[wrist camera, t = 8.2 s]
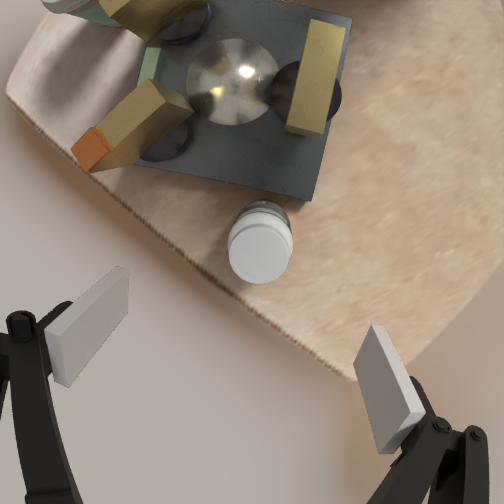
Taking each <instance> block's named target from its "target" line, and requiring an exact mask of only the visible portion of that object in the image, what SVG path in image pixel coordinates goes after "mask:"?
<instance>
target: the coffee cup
mask: <svg viewBox="0 0 504 504" xmlns="http://www.w3.org/2000/svg"><path fill="white" fill-rule="evenodd" d="M41 1H42V2H43V5H44V6H45V7H46V8H47V9H48V10H49V11H51V12H53V13H57V14H61V13H67V14H70V15H74V16H77V17H80V18H84V19H87V20H90V21H93V22H96V23H99V24H102V25H105V26H108V27H120V26H122V25H121V24H119V23H118V22H116V21H115V20H113V19H112V18H110V17H109V16H108V14H107V13H106V11H105V10H104V9H103V7H102V6H101V4H100V3H99V2H98V1H99V0H41Z"/></svg>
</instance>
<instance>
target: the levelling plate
mask: <svg viewBox="0 0 504 504" xmlns="http://www.w3.org/2000/svg"><path fill="white" fill-rule="evenodd" d="M208 4H209V6H210V9H211V19H210V22H209V24H208V26H207V28H206V29H205V31H204V32H203V33H202V34H201V35H199V36H198V37H197V38H195V39H193V40H191V41H189V42H186V43H183V44H167V43H164V42H162V41H160V40H159V39H158V38H157V37H154V38H153V39H151V40H150V41H149V42H147V45H146V49H145V52H144V56H143V60H142V64H141V68H140V72H139V76H138V80H137V84H136V87H137V86H139V85H140V84H141V83H142V82H143V81H144V80H146V79H147V78H150V79H152V80H154V81H156V82H158V83H160V84H163V85H165V86H167V87H169V88H171V89H173V90H175V91H177V92H179V93H181V94H182V96H183V97H184V98H185V100H186V101H187V102H188V104H189V105H190V106H191V107H192V109H193V110H194V111H195V113H194V114H192V115H191V119H192V124H193V132H192V137H191V140H190V142H189V144H188V146H187V148H186V149H185V150H184V151H183V152H182V153H181V154H180V155H178V156H177V157H175V158H173V159H171V160H167V161H161V162H147V161H144V160H142V159H140V158H139V159H138V160H137V161H136V162H135V163H134V164H133V165H139V166H145V167H151V168H156V169H162V170H168V171H173V172H178V173H184V174H189V175H194V176H199V177H204V178H209V179H214V180H219V181H224V182H229V183H233V184H238V185H242V186H247V187H252V188H256V189H260V190H265V191H269V192H273V193H278V194H282V195H286V196H290V197H294V198H298V199H302V200H306V201H310V202H311V201H312V197H313V193H314V189H315V185H316V181H317V177H318V173H319V169H320V165H321V161H322V157H323V153H324V149H325V145H326V140H327V136H328V132H329V128H330V123H331V119H332V118H331V119H330V120H329V121H327V122H326V123H325V128H324V132H323V134H321V135H317V136H313V137H307V136H303V135H299V134H295V133H291V132H286V131H284V128H285V124H286V122H285V121H284V120H283V119H282V118H281V117H280V116H279V115H278V114H277V113H276V111H275V109H274V107H273V105H272V100H271V84H272V81H273V79H274V77H275V75H276V74H277V72H278V71H279V70H280V69H281V68H282V67H284V66H285V65H287V64H289V63H292V62H295V61H300V58H301V54H302V50H303V46H304V43H305V39H306V35H307V32H308V28H309V24H310V21H311V19H314V20H318V21H322V22H326V23H329V24H333V25H336V26H340V27H343V28H346V30H345V35H344V40H343V45H342V50H341V55H340V60H339V64H338V69H337V74H336V78H337V80H338V82H339V83H340V78H341V74H342V69H343V64H344V59H345V54H346V49H347V44H348V39H349V34H350V28H351V23H352V19H350V18H347V17H343V16H340V15H336V14H333V13H329V12H325V11H322V10H318V9H313V8H309V7H305V6H300V5H296V4H291V3H286V2H280V1H274V0H211V1H209V2H208Z"/></svg>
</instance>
